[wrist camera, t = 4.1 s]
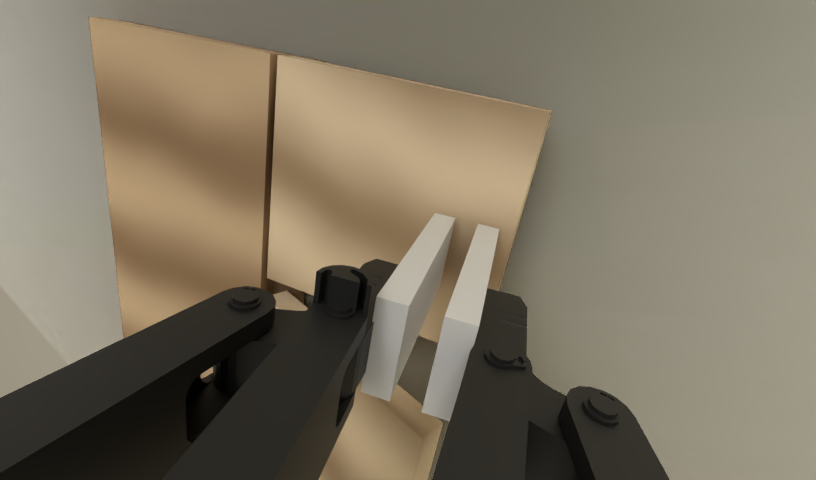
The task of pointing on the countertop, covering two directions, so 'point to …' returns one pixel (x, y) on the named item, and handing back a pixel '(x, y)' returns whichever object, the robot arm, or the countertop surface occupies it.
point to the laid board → (185, 165)
